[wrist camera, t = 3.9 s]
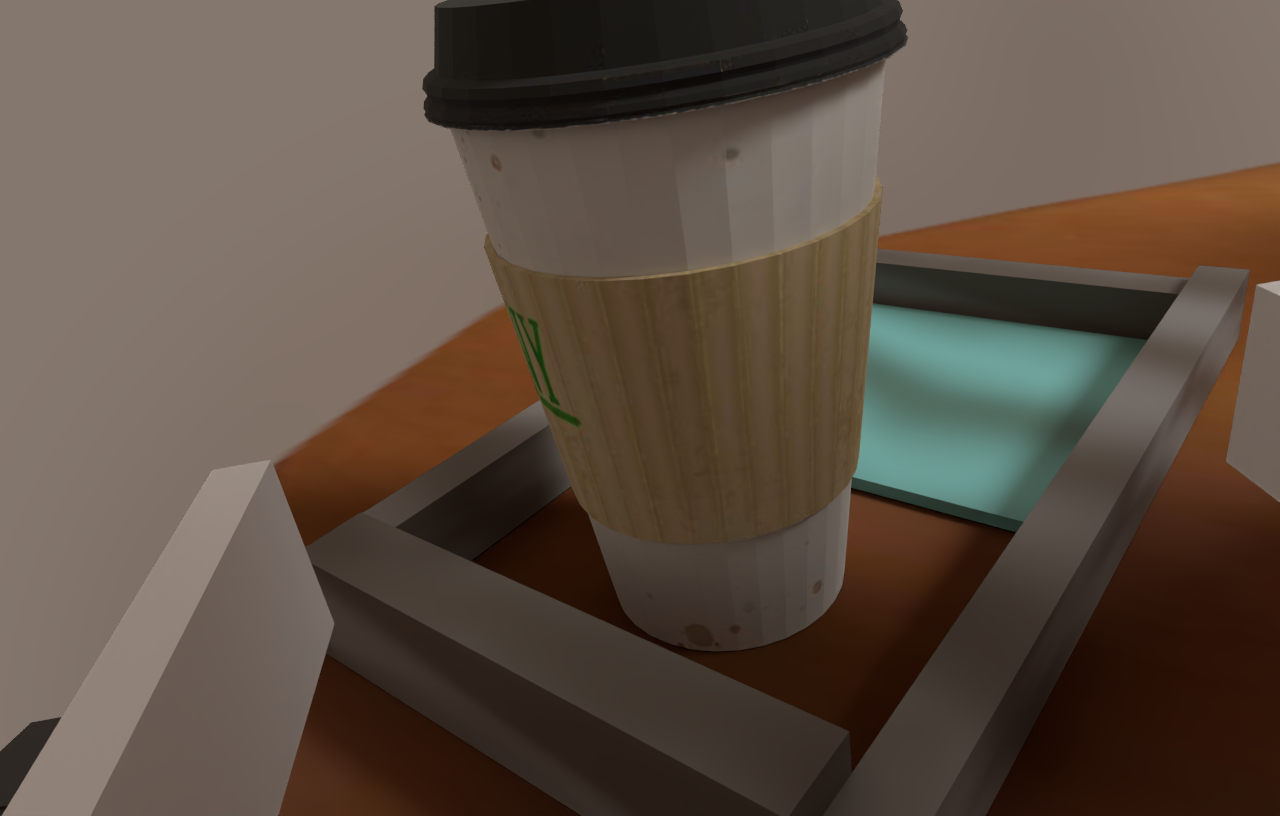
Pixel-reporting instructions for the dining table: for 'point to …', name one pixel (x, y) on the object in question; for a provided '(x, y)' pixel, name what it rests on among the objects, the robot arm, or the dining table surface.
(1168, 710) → the dining table surface
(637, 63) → the coffee cup
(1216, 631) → the dining table surface
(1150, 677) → the dining table surface
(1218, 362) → the bay
